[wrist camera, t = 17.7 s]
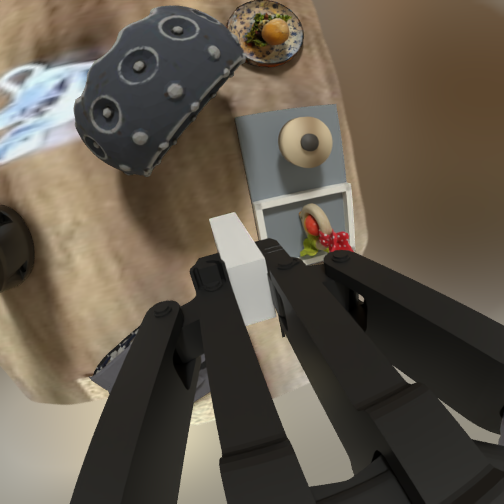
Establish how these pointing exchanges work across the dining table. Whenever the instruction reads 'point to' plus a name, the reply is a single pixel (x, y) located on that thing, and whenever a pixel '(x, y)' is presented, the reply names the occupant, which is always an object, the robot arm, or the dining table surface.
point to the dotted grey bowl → (154, 86)
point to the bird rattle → (320, 232)
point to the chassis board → (293, 180)
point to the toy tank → (115, 358)
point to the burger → (266, 32)
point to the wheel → (305, 142)
